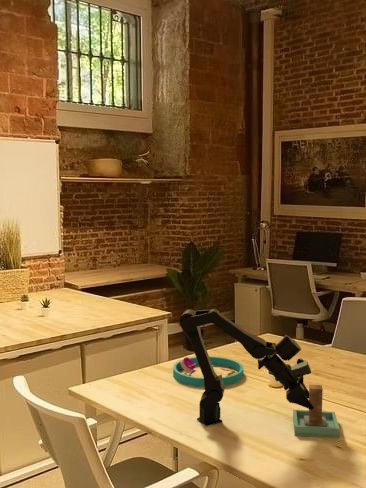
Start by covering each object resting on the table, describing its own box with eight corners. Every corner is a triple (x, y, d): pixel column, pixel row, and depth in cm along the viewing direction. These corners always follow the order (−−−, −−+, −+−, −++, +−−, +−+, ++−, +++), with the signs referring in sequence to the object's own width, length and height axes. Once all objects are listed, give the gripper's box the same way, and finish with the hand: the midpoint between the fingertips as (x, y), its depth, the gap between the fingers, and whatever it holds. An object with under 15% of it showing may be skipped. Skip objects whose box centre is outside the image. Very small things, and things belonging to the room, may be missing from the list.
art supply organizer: (191, 361, 263) (191, 348, 263) (253, 370, 250) (253, 357, 250) (160, 381, 236) (160, 367, 236) (228, 392, 223) (228, 378, 223)
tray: (294, 435, 184) (294, 426, 184) (293, 417, 198) (293, 409, 198) (339, 438, 182) (339, 429, 182) (334, 420, 196) (334, 411, 196)
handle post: (304, 428, 187) (305, 390, 186) (303, 419, 194) (304, 382, 193) (326, 429, 186) (327, 391, 185) (324, 420, 193) (325, 383, 192)
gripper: (298, 362, 179) (332, 398, 179) (295, 345, 198) (327, 378, 197) (272, 385, 181) (306, 420, 181) (272, 366, 200) (303, 398, 199)
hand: (311, 403), depth 189 cm, fingers open, 9 cm apart
